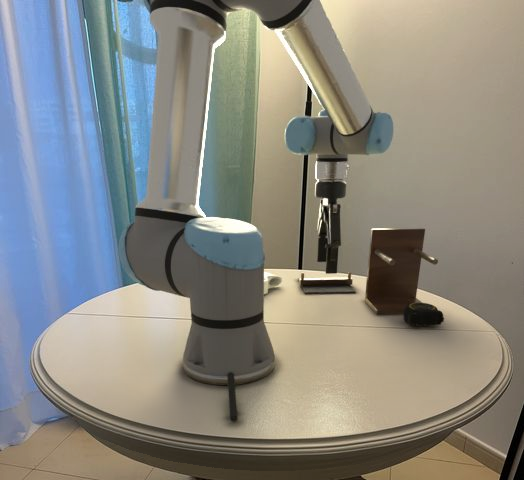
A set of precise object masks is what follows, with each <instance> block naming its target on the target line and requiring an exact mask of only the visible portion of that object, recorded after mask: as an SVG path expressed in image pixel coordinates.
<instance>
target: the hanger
mask: <svg viewBox="0 0 524 480" xmlns="http://www.w3.org/2000/svg"><path fill="white" fill-rule="evenodd" d="M298 283H299V286H300V287H301V286H315V285H351V286H352V285H353V278H352V272H351V271H349V272H348V273H347V277H305V273H304V272H301V273H300V280H298Z"/></svg>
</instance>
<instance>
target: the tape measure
mask: <svg viewBox="0 0 524 480" xmlns="http://www.w3.org/2000/svg"><path fill="white" fill-rule="evenodd" d="M403 321H404V322H405V323H407V324H408V325H411V326H416V327H417V326H418V327H420V328H422V327H425V326H426V327H427V326H438V325H442V323H444V321H445V317H444V313H443V311H441V310H440V309H438V307H437V306H435V305H433V304H431V303H426V302H422V303H410V304H408V305H406V306H405V309H404V314H403Z"/></svg>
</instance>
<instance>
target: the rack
mask: <svg viewBox="0 0 524 480" xmlns="http://www.w3.org/2000/svg"><path fill="white" fill-rule="evenodd" d="M425 234H426V228H424V227H417V228H415V227H413V228H412V227H410V228H409V227H408V228H406V227H405V228H404V227H403V228H398V227H397V228H371V229H370V237H369V238H370V239H369V250H368V259H367V261H368V262H367V273H366V283H365V284H366V285H365V295H364V302H365V303H366V304H367V305H368V307H369V308H370V309H371V310H372V311H373V312H374V314H375V315H404V309H405V306H406V305H408V304H410V303H423V302H422V301H421V300H420V299H418V297H417V294H418V293H417V292H418V286H419V279H420V273H421V272H420V270H421V263H422V259H423V260H425V261H426V262H428V263H430V264H432V265H434V266H435V265H437V264H438V263H439V259H437V258H436V257H434V256H432V255H430V254H427V253H426V252H424V251H423V250H424V249H423V248H424V241H425V236H426V235H425Z"/></svg>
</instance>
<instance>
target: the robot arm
mask: <svg viewBox="0 0 524 480" xmlns="http://www.w3.org/2000/svg"><path fill="white" fill-rule="evenodd" d="M143 4H144V7H145V8H146V10H147V11H148V13H149V23H150V25H151V27H152V28H153V29H154V31H155V32H156V34H157V37H158V39H157V53H156V64H155V78H154V90H153V101H152V102H153V103H152V116H151V125H150V127H151V128H150V139H149V151H148V152H149V153H148V163H147V164H148V167H147V176H146V177H147V179H146V189H145V190H146V191H145V197H144V198H143V199H142V200H140V202H138V203H137V204H136V205H135V209H134V210H135V211H134V220H133V221H131V222H129V223H128V224H127V227H126V228H124V229H123V231H122V232H121V234H120V237H119V240H118V255H119V256H118V257H119V260H120V263H121V266H122V268H123V270H124V272H125V273H126V274H127V275H128V276H129V278H131V280H133V281H134V282H135V283H136V284H138V285H141V286H144V287H145V288H147V289H149V290H152V291H156V292H164V293H168V294H172V295H176V296H178V297H179V296H180V297H183V298H187V299H189V306H190V318H191V319H190V321H191V324H190V328H189V332H188V336H187V339H186V344H185V347H184V351H183V354H182V355H183V357H182V364H183V365H182V366H183V370H184V373H185V374H186V375H187V376H188V377H190V378H191V379H193V380H194V381H195V380H196V381H198V382H200V383H205V384H208V385H217V386H227V390H228V405H229V406H228V407H229V420H230V422H233V423H235V422H238V419H239V418H238V407H237V395H236V385H243V384H248V383H253V382H256V381H258V380H261V379H263V378H264V377H267V376H268V375H269V374H271V373H272V371H273V370H274V368H275V364H276V355H275V351H274V347H273V344H272V341H271V338H270V336H269V332H268V329H267V326H266V323H265V317H264V315H265V310H264V309H265V308H264V307H265V305H264V304H265V294H264V272H265V260H266V257H265V251H264V240H263V238H264V237H263V236H262V233H261V231H260V229H258V228H257V227H256V226H254V225H253V224H251V223H249V222H246V221H243V220H239V219H233V218H226V217H225V218H222V217H217V216H216V217H215V216H209V217H208V216H207V217H206V214H205V213H204V212H203V211H202V209H201V208H200V205H199V199H200V190H201V179H202V168H203V160H204V150H205V142H206V134H207V133H206V131H207V123H208V111H209V104H210V103H209V102H210V93H211V84H212V73H213V64H214V54H215V49H216V48H217V47H218V46H221V44H222V43H224V41H225V40H226V35H227V25H228V17H229V16H228V15H229V14H231V13H234V12H238V11H241V10H247V11H250V12H252V13H254V14H255V15H256V16H257V17H258V18H259V20H260V22H261V23H262V25H263V26H264V28H266V29H267V30H270V31H275V33H276V34H277V36H278V37H279V39H280V41H281V42H282V44H283V46H284V47H285V49H286V51H287V52H288V54H289V55H290V57H291V58H292V60H293V62H294V63H295V65H296V66H297V68H298V70H299V71H300V73H301V75H302V76H303V78H304V80H305V81H306V83H307V84H308V86H309V88H310V89H311V91H312V92H313V94H314V96H315V97H316V99H317V101H318V103H319V104H320V105H321V107H322V109H321V110H320V111H319V112H318V116H309V115H301V116H300V115H299V116H294V117H293V118H292V119H291V120H289V122H288V123H287V125H286V126H285V129H284V142H285V146H286V148H287V149H288V150H289V151H290V152H291V153H292V154H293V155H294V154H295V155H299V156H308V155H310V156H311V155H313V156H314V155H315V156H316V162H315V179H316V180H317V181H316V182H315V187H314V188H315V189H314V197H315V198H316V199H320V200H319V213H318V219H317V228H316V233H317V253H316V262H317V263H325V274H326V275H331V274H338V261H339V259H338V258H339V248H340V247H341V246H342V239H341V238H342V236H341V235H342V234H341V232H342V231H341V208H342V207H341V203H340V204H339V203H338V199H345V198H346V195H347V182H346V181H345V180H346V179H347V178H348V177H347V175H348V171H350V166H349V165H348V161H349V155H362V156H369V155H380V154H384V153H386V152H387V151H388V150H389V148H390V146H391V144H392V141H393V137H394V122H393V118H392V116H391V115H390V114H388V113H387V112H381V111H377V112H374V110H373V108H372V106H371V105H370V102H369V101H368V98H367V96H366V94H365V92H364V90H363V88H362V85H361V83H360V81H359V80H358V77H357V75H356V73H355V71H354V69H353V67H352V65H351V63H350V60H349V58H348V56H347V54H346V52H345V50H344V48H343V46H342V44H341V42H340V40H339V37H338V35H337V33H336V31H335V29H334V27H333V25H332V23H331V21H330V19H329V16H328V15H327V13H326V11H325V8H324V6H323V4H322V2H321V0H143Z"/></svg>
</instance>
